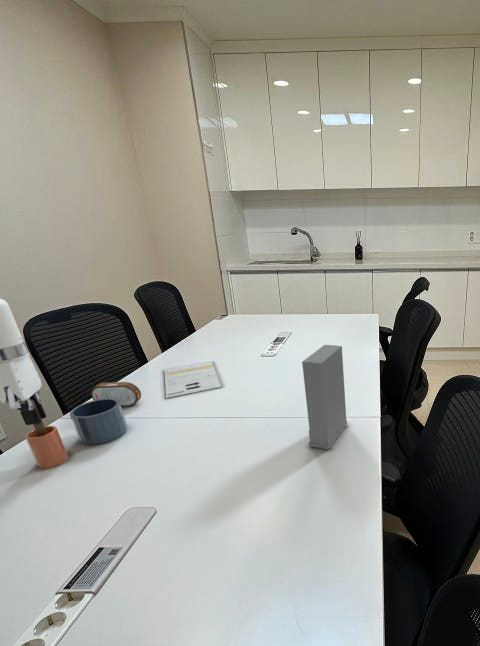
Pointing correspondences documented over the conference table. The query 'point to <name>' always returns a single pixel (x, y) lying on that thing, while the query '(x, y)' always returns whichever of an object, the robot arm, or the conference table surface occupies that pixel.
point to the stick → (39, 427)
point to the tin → (117, 392)
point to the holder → (47, 447)
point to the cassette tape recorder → (325, 395)
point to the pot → (99, 421)
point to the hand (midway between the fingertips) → (36, 420)
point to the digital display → (190, 379)
